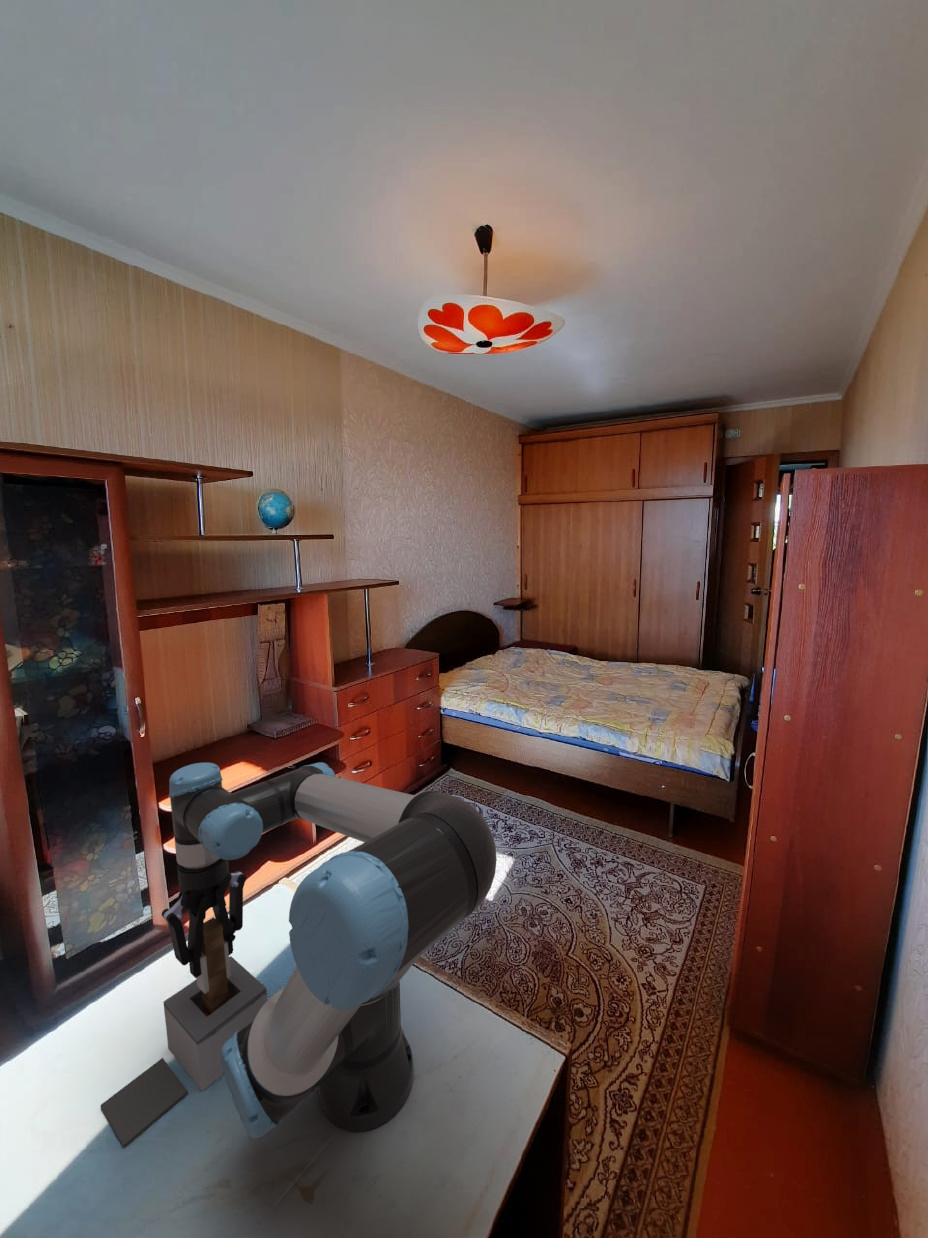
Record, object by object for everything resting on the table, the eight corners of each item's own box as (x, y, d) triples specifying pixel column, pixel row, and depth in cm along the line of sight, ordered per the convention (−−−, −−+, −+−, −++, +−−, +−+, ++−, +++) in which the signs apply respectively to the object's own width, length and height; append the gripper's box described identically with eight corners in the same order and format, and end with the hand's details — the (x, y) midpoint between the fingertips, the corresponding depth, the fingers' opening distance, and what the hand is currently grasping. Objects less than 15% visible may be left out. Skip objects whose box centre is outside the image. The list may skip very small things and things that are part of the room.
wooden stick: (220, 998, 89) (213, 917, 87) (229, 1007, 87) (222, 924, 85) (203, 1010, 87) (195, 927, 84) (212, 1020, 85) (204, 935, 83)
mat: (187, 1094, 79) (187, 1091, 79) (123, 1149, 72) (123, 1145, 72) (162, 1060, 84) (162, 1057, 84) (100, 1108, 77) (100, 1105, 77)
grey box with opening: (269, 1033, 89) (266, 988, 88) (202, 1092, 79) (197, 1042, 78) (234, 998, 96) (230, 956, 95) (168, 1048, 86) (163, 1002, 85)
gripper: (236, 827, 92) (246, 941, 95) (139, 873, 79) (154, 1003, 82) (259, 840, 87) (268, 960, 90) (160, 891, 74) (175, 1028, 78)
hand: (214, 980), depth 86 cm, fingers closed on wooden stick, 3 cm apart
